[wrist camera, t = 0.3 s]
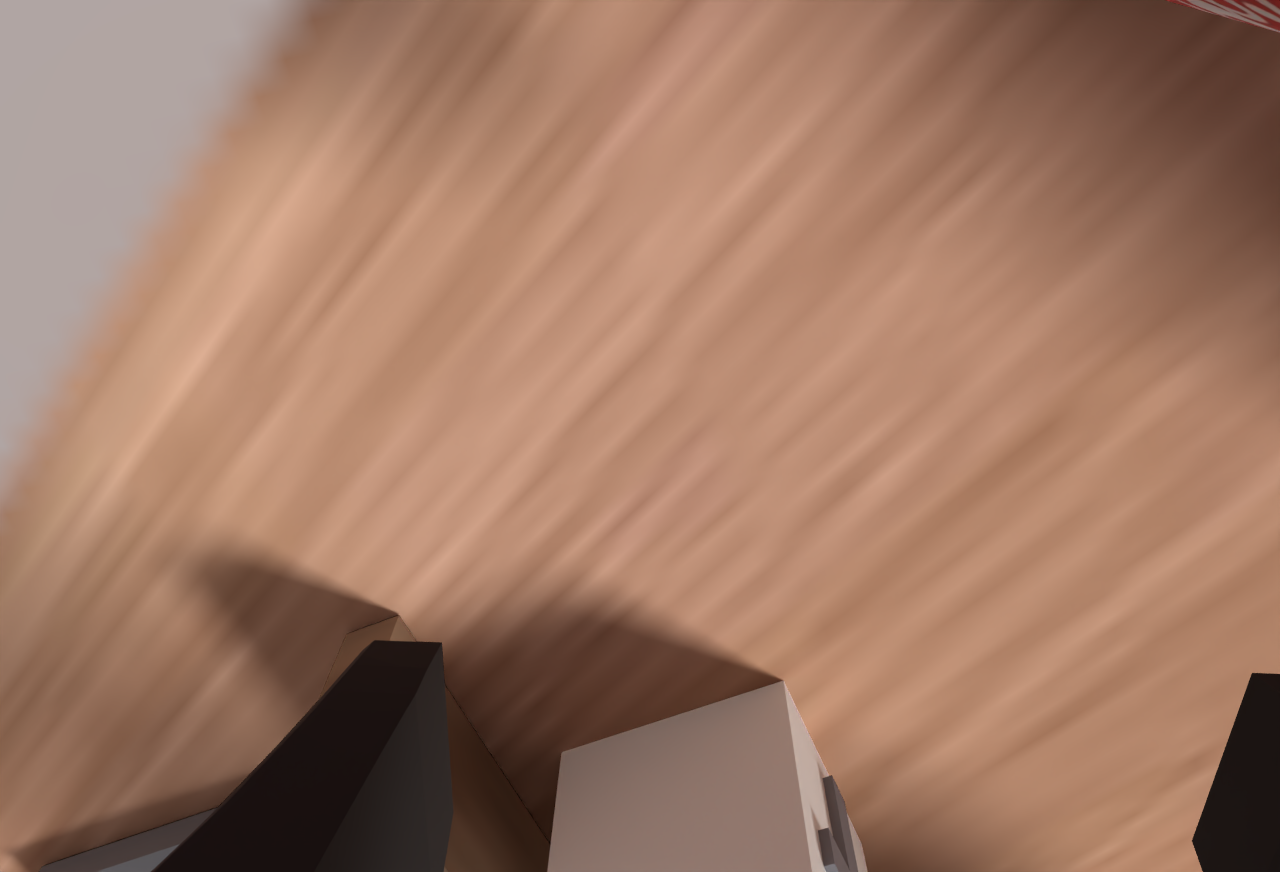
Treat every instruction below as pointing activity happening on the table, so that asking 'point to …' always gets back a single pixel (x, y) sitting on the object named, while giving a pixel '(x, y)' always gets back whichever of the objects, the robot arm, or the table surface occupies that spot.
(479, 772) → the walnut block
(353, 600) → the table surface
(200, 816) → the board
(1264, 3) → the beverage can
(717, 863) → the lettered cube
